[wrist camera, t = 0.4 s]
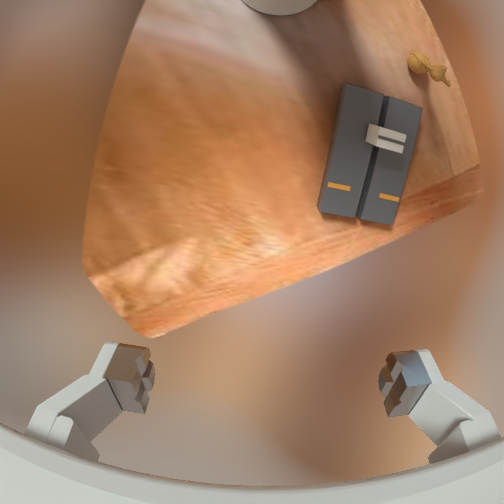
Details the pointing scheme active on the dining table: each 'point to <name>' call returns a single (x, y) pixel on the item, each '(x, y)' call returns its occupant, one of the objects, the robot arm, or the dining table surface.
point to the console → (367, 156)
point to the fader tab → (385, 138)
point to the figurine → (426, 67)
